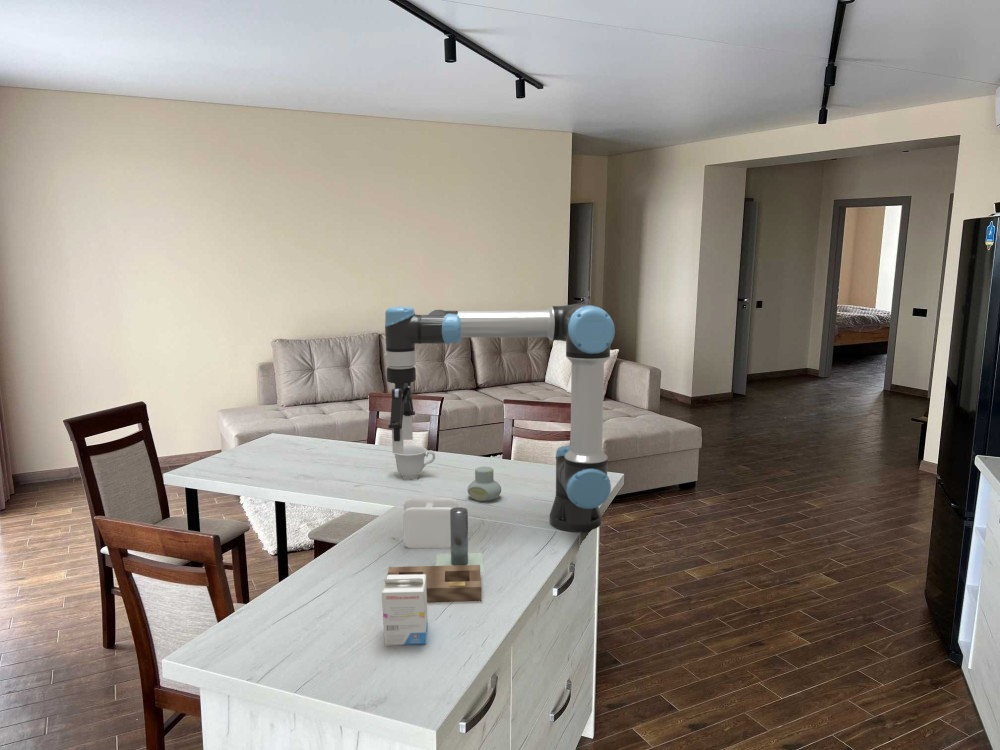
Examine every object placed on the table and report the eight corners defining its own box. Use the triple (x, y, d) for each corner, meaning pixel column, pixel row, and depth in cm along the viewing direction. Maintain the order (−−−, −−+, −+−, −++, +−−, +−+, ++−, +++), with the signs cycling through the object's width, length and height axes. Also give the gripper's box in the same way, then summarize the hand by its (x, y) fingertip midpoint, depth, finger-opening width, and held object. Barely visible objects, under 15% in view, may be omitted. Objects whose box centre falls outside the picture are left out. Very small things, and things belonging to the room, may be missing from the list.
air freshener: (463, 499, 237) (463, 469, 235) (476, 492, 244) (475, 463, 242) (493, 505, 232) (493, 474, 230) (505, 497, 239) (505, 467, 237)
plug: (468, 559, 189) (467, 507, 187) (468, 566, 185) (467, 513, 183) (450, 559, 189) (450, 507, 187) (450, 566, 185) (450, 513, 182)
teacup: (433, 482, 254) (433, 454, 252) (390, 482, 254) (389, 454, 253) (437, 472, 266) (436, 445, 264) (396, 472, 266) (395, 445, 265)
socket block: (480, 578, 180) (479, 564, 179) (481, 601, 168) (481, 586, 167) (389, 580, 178) (389, 566, 178) (384, 603, 167) (383, 588, 166)
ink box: (428, 624, 157) (427, 565, 155) (425, 645, 149) (424, 583, 147) (388, 625, 157) (386, 566, 155) (383, 646, 149) (381, 584, 147)
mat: (482, 555, 193) (482, 552, 193) (483, 574, 182) (483, 572, 181) (436, 556, 193) (436, 553, 193) (435, 575, 181) (435, 573, 181)
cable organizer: (400, 551, 196) (399, 509, 194) (405, 535, 207) (404, 496, 205) (456, 550, 196) (456, 509, 194) (458, 535, 207) (458, 496, 205)
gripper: (395, 359, 204) (397, 434, 207) (376, 374, 179) (378, 458, 183) (422, 359, 203) (424, 434, 207) (406, 374, 179) (408, 459, 182)
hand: (403, 446), depth 195 cm, fingers open, 13 cm apart
